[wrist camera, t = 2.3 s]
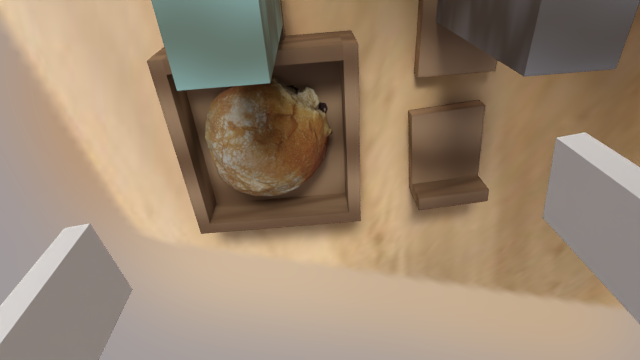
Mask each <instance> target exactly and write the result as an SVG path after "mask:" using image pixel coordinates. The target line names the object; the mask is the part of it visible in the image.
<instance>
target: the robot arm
mask: <svg viewBox="0 0 640 360" xmlns="http://www.w3.org/2000/svg"><path fill="white" fill-rule="evenodd" d="M543 219H544V220H545V221H546V222H547V223H548V224H549V225H550V226H551V227H552V228H553V230H554V231H555V232H556V233H557V234H558V235H559V236H560V237H561V238H562V239H563V241H564V242H565V243H566V244H567V245H568V246H569V247H570V248H571V249H572V250H573V251H574V253H575V254H576V255H577V256H578V257H579V258H580V259H581V260H582V261H583V262H584V263H585V265H586V266H587V267H588V268H589V269H590V270H591V271H592V272H593V273H594V274H595V276H596V277H597V278H598V279H599V280H600V281H601V282H602V283H603V284H604V285H605V286H606V288H607V289H608V290H609V291H610V292H611V293H612V294H613V295H614V296H615V297H616V299H617V300H618V301H619V302H620V303H621V304H622V305H623V306H624V307H625V308H626V309H627V311H628V312H629V313H630V314H631V315H632V316H633V317H634V318H635V319H636V320H637V321H638V322H639V324H640V167H639V166H637V165H636V164H634V163H632V162H631V161H629V160H628V159H626V158H625V157H623V156H622V155H620V154H618V153H617V152H615V151H614V150H612V149H611V148H609V147H607V146H606V145H604V144H603V143H601V142H600V141H598V140H596V139H595V138H593V137H592V136H590V135H589V134H587V133H585V132H584V133H579V134H573V135H568V136H562V137H557V138H556V141H555V147H554V153H553V159H552V165H551V171H550V177H549V183H548V189H547V195H546V201H545V207H544V213H543ZM131 291H132V288H131V286H130V285H129V283H128V282H127V280H126V278H125V277H124V275H123V274H122V272H121V271H120V269H119V268H118V266H117V264H116V263H115V261H114V260H113V258H112V257H111V255H110V254H109V252H108V251H107V249H106V248H105V246H104V245H103V243H102V241H101V240H100V238H99V237H98V235H97V234H96V232H95V231H94V229H93V227H92V226H91V224H84V225H79V226H73V227H68V228H64V229H63V231H62V232H61V233H60V234H59V235H58V237H57V238H56V239H55V240H54V241H53V243H52V244H51V245H50V246H49V247H48V249H47V250H46V251H45V252H44V254H43V255H42V256H41V257H40V258H39V260H38V261H37V262H36V263H35V265H34V266H33V267H32V268H31V269H30V270H29V272H28V273H27V274H26V275H25V277H24V278H23V279H22V280H21V281H20V283H19V284H18V285H17V286H16V288H15V289H14V290H13V291H12V292H11V294H10V295H9V296H8V297H7V298H6V300H5V301H4V302H3V303H2V304H1V306H0V360H99V358H100V356H101V354H102V352H103V350H104V348H105V346H106V344H107V342H108V339H109V337H110V335H111V333H112V331H113V329H114V327H115V325H116V323H117V320H118V318H119V316H120V314H121V312H122V310H123V308H124V306H125V304H126V301H127V300H128V298H129V295H130V293H131Z"/></svg>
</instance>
